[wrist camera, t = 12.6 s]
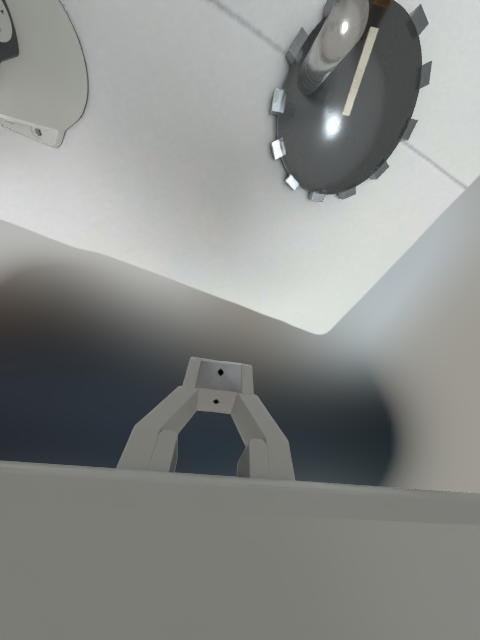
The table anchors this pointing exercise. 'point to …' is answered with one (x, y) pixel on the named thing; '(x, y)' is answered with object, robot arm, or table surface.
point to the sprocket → (349, 95)
